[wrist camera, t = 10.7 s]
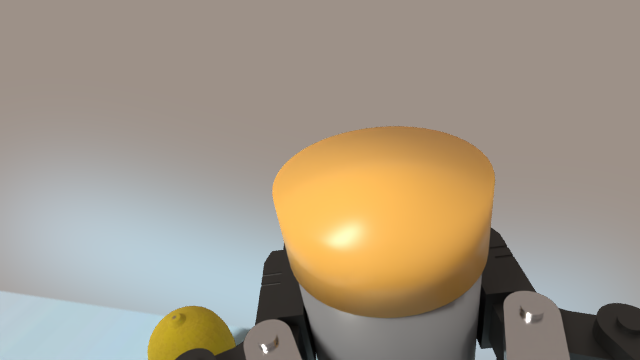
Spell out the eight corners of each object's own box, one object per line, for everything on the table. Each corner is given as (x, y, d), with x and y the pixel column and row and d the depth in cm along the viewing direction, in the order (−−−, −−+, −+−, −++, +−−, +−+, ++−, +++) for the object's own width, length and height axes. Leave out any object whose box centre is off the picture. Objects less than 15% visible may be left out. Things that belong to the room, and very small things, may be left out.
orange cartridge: (336, 509, 13) (261, 259, 7) (331, 368, 17) (280, 140, 12) (493, 496, 13) (540, 225, 7) (447, 355, 17) (454, 115, 11)
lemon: (209, 345, 33) (176, 275, 28) (263, 370, 30) (235, 297, 26) (157, 407, 29) (110, 337, 25) (213, 443, 26) (171, 371, 22)
